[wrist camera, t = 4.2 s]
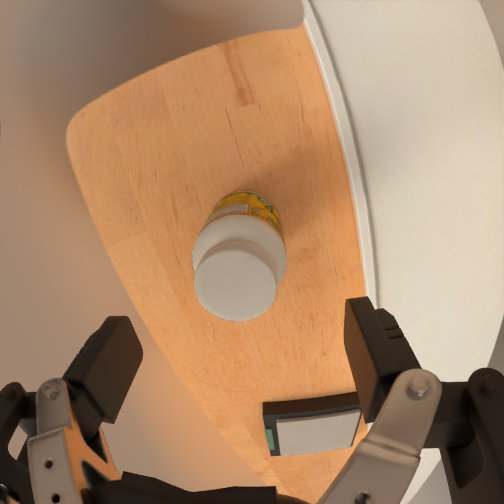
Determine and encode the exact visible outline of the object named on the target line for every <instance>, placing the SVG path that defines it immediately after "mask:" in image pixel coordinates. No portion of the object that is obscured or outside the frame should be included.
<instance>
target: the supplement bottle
mask: <svg viewBox="0 0 504 504" xmlns="http://www.w3.org/2000/svg"><path fill="white" fill-rule="evenodd" d="M192 263H193V269H194V272H195V277H194V290H195V293H196V296H197V298H198V300H199V302H200V303H201V305H202V306H203V307H204V308H205V309H206V310H207V311H209V312H210V313H211V314H213V315H215V316H217V317H219V318H221V319H224V320H229V321H247V320H251V319H254V318H256V317H258V316H260V315H262V314H263V313H265V312H266V311H267V310H268V309H269V308H270V306H271V305H272V304H273V302H274V300H275V297H276V293H277V287H278V285H279V284H280V282H281V281H282V279H283V277H284V274H285V271H286V266H287V252H286V247H285V242H284V237H283V232H282V226H281V221H280V217H279V214H278V212H277V210H276V208H275V206H274V205H273V204H272V203H271V202H270V201H269V200H268V199H266V198H265V197H263V196H262V195H260V194H258V193H256V192H253V191H237V192H234V193H231V194H229V195H227V196H225V197H224V198H222V199H221V200H220V201H219V202H218V203H217V204H216V206H215V207H214V209H213V211H212V212H211V214H210V216H209V217H208V219H207V221H206V223H205V224H204V226H203V228H202V230H201V231H200V233H199V235H198V237H197V239H196V241H195V244H194V247H193V252H192Z"/></svg>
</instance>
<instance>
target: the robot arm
mask: <svg viewBox="0 0 504 504" xmlns="http://www.w3.org/2000/svg"><path fill="white" fill-rule="evenodd" d="M344 345H345V350H346V354H347V357H348V361H349V364H350V368H351V371H352V375H353V378H354V382H355V386H356V389H357V393H358V397H359V401H360V404H361V408H362V412H363V416H364V420H365V424H366V423H371V422H374V423H373V425H372V427H371V428H370V430H369V432H368V434H367V435H366V437H365V438H364V439H362V440H361V441H360V443H359V444H358V445H357V447H356V448H355V450H354V452H353V453H352V455H351V456H350V458H349V459H348V461H347V462H346V464H345V465H344V467H343V468H342V470H341V471H340V473H339V474H338V475H337V477H336V478H335V480H334V481H333V482H332V484H331V485H330V486H329V488H328V489H327V490H326V492H325V493H324V494H323V496H322V497H321V498H320V499H319V501H318V502H317V503H316V504H400V502H401V500H402V498H403V496H404V495H405V493H406V491H407V489H408V487H409V485H410V483H411V481H412V479H413V477H414V475H415V472H416V470H417V468H418V465H419V463H420V459H421V457H420V453H421V450H422V448H439V450H440V454H441V457H442V461H443V465H444V469H445V473H446V477H447V481H448V486H449V491H450V495H451V500H452V504H504V376H503V375H502V374H501V373H500V372H498V371H497V370H495V369H492V368H481V369H478V370H476V371H475V372H473V373H472V375H471V376H470V378H469V380H468V382H441V381H440V380H439V379H438V377H437V376H436V375H435V374H433V373H432V372H430V371H427V370H424V369H422V368H421V366H420V364H419V362H418V360H417V358H416V356H415V355H414V353H413V351H412V349H411V347H410V345H409V343H408V341H407V339H406V338H405V337H404V334H403V332H402V330H401V328H399V325H398V323H397V321H396V320H395V318H394V316H393V315H391V314H390V313H389V312H387V311H386V310H385V309H383V308H381V309H374V307H373V305H372V303H371V301H370V299H369V298H368V297H367V296H365V297H358V298H351V299H346V302H345V320H344ZM142 358H143V349H142V346H141V344H140V341H139V339H138V337H137V335H136V332H135V330H134V328H133V326H132V323H131V321H130V319H129V318H128V317H127V316H109V317H107V319H106V320H105V321H104V323H103V324H102V326H101V327H100V328H99V329H98V330H97V331H96V332H95V333H93V334H92V335H91V336H90V337H89V338H88V340H87V341H86V343H85V344H84V347H82V348H81V350H80V351H79V354H77V356H76V357H75V359H74V360H73V362H72V363H71V365H70V366H69V368H68V369H67V371H66V372H65V374H64V375H63V377H62V378H61V379H60V378H53V379H50V380H48V381H46V382H44V383H43V384H42V385H41V386H40V387H39V389H38V391H37V392H26V391H25V389H24V388H23V387H22V385H21V384H20V383H18V382H12V383H10V384H8V385H6V386H5V387H4V388H3V389H2V390H1V391H0V504H310V503H308V502H306V501H303V500H300V499H298V498H295V497H291V496H287V495H282V494H278V492H277V489H276V486H267V487H237V486H233V487H228V488H221V489H215V490H207V491H199V492H190V491H186V490H184V489H181V488H178V487H176V486H173V485H171V484H168V483H166V482H163V481H161V480H159V479H156V478H153V477H147V476H143V475H138V474H134V473H129V472H125V471H124V472H123V474H122V476H121V475H120V473H119V472H118V470H117V469H116V467H115V465H114V462H113V459H112V456H111V453H110V451H109V447H108V444H107V441H106V438H105V435H104V432H103V430H102V428H101V427H100V425H101V423H102V422H106V423H111V424H114V423H115V420H116V418H117V415H118V413H119V411H120V409H121V406H122V404H123V402H124V399H125V397H126V395H127V392H128V390H129V388H130V386H131V384H132V381H133V379H134V377H135V375H136V373H137V370H138V368H139V366H140V364H141V362H142ZM17 426H19V427H20V428H21V429H22V430H23V431H24V432H25V433H26V434H27V435H28V437H27V439H26V441H25V443H24V445H23V447H22V450H21V452H20V454H19V456H18V458H17V460H15V459H14V458H13V457H12V456H11V455H10V454H9V451H8V444H9V441H10V439H11V437H12V435H13V433H14V432H15V429H16V428H17Z"/></svg>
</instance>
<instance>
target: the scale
mask: <svg viewBox="0 0 504 504" xmlns="http://www.w3.org/2000/svg"><path fill="white" fill-rule="evenodd" d="M361 415H362V408H361V404H360V401H359V397H358V393H357V392H353V393H347V394H341V395H334V396H328V397H320V398H312V399H304V400H294V401H283V402H269V403H263V420H264V425H265V432H266V437H267V442H268V447H269V450H270V454H271V456H290V455H301V454H310V453H318V452H325V451H332V450H338V449H344V448H350V447H351V446H352V445H353V441H354V438H355V435H356V432H357V429H358V425H359V422H360V419H361Z"/></svg>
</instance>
